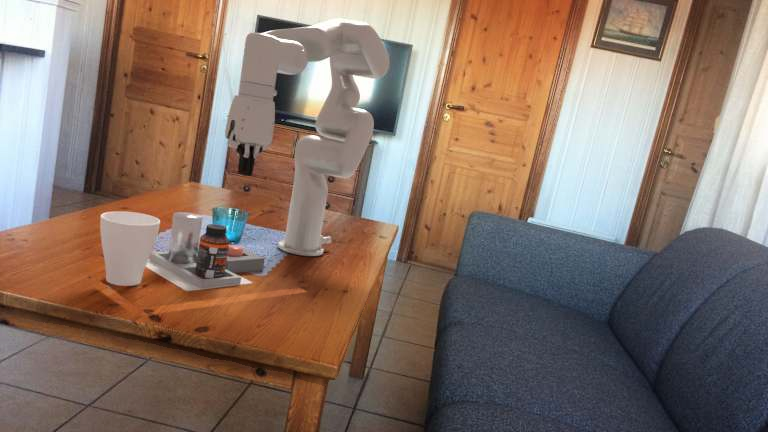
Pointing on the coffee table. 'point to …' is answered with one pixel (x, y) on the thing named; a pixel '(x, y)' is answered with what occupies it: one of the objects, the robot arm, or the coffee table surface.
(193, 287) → the tray
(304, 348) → the coffee table surface
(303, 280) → the coffee table surface
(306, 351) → the coffee table surface
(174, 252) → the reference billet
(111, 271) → the cup
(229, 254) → the button
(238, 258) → the grey square block
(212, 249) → the supplement bottle
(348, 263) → the coffee table surface
